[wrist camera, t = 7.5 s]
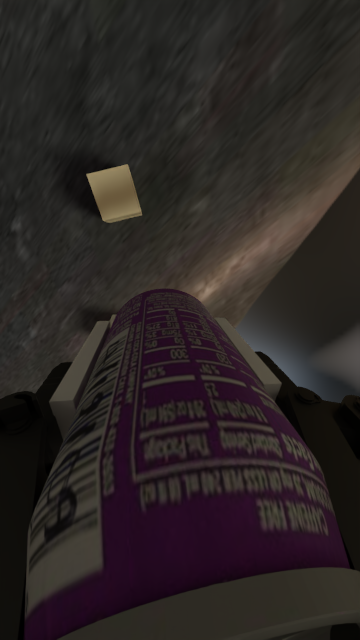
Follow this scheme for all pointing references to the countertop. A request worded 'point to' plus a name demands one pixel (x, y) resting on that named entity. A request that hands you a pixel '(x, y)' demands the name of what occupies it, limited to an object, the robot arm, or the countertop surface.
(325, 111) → the countertop surface
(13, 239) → the countertop surface
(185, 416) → the beverage can
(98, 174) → the beech cube
